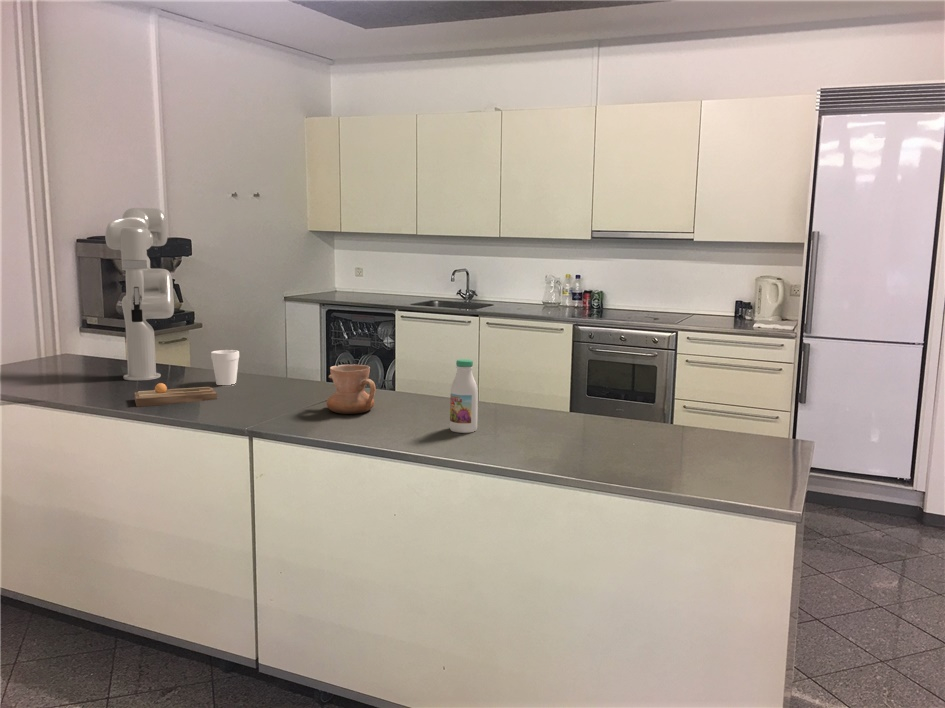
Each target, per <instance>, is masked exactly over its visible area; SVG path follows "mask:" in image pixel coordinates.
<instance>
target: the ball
mask: <svg viewBox="0 0 945 708" xmlns="http://www.w3.org/2000/svg"><path fill="white" fill-rule="evenodd" d="M154 390H155V392H156V393H158V394H159V393H165V392H166V390H168V387H167V385H166V384H164V383H162V382H159V383H157V384H156V385H155V386H154Z"/></svg>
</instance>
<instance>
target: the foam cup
mask: <svg viewBox="0 0 945 708" xmlns="http://www.w3.org/2000/svg"><path fill="white" fill-rule="evenodd" d="M210 358H211V361H212V366H213V372H214V378H215V384H216V386H217V385H231V384H235V383H236V384H237V377H238V370H239V369H238V367H239V360H240V359H239V358H240V351H239V350H237V349H235V350H234V349H222V350H221V349H220V350H219V349H218V350H213V351H211V352H210ZM236 384H235V385H236Z"/></svg>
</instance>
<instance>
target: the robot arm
mask: <svg viewBox="0 0 945 708" xmlns="http://www.w3.org/2000/svg"><path fill="white" fill-rule="evenodd" d="M104 237H105V244H106V245H107V247H108V248H109V249H111V250H119V251H120V253H121V254H120V255H121V270H122V271H125V291H126V293H125V295H124V296H123V298H122V299H121V307H122V312H123V318H124V325H125V336H126V337H125V338H126V357H127V359H126V360H127V361H126V362H127V374H124V375H123V379H124V380H125V381H132V382H133V381H134V382H135V381H151V380H155V379H159V378H161V376H162V375H161V373H160V372H157V365H156V361H157V360H156V341H155V330H154V328H153V326H152V325H151V324H149V322H148V321H147V320H150V319H151V320H152V319H154V320H155V319H159V320H160V319H168V318H169V319H170V318H172V316H173V315H174V313H175V301H174V299H175V297H174V284H173V277H172V274H171V272H170V271H169V270H168V269H165V268H151V260H150V259H151V258H149V256H148V251H147V250H149V249H151V247H162V246H165V245H166V244H167V242H168V222H167V218H166V215H165V212H164V211H163V210H161V209H160V208H152V207H151V208H150V207H149V208H148V207H131V208H128V209H126V210H125V211H124V212H123V214H122V218H119V219H116V220H112V221H110V222H109V223H108V224H107V226H106V229H105V236H104Z"/></svg>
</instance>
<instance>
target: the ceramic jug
mask: <svg viewBox="0 0 945 708" xmlns="http://www.w3.org/2000/svg"><path fill="white" fill-rule="evenodd" d="M329 371H330V374H329V375H328V378H329V379H331V380H332V382H333V385H334V387H335V389H336V391H335V392H334V393H333V394H332V395H330V396H329V397H328V398H327V400H326V406H327V408H328V409H329V411H331V412H333V413H337V414H341V415H357V414H363V413H366V412H368V411H370V410H371V409H373V407H374V406H375V399H374V397H375V395H376V384H375V382H374V381H373V380H372V379H370V378H369V377H370V371H371V366H369V365H364V364H338V365H333V366H330V367H329ZM367 384H368V385H369V393H367V392H366V391H365V389H366V386H367Z"/></svg>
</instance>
